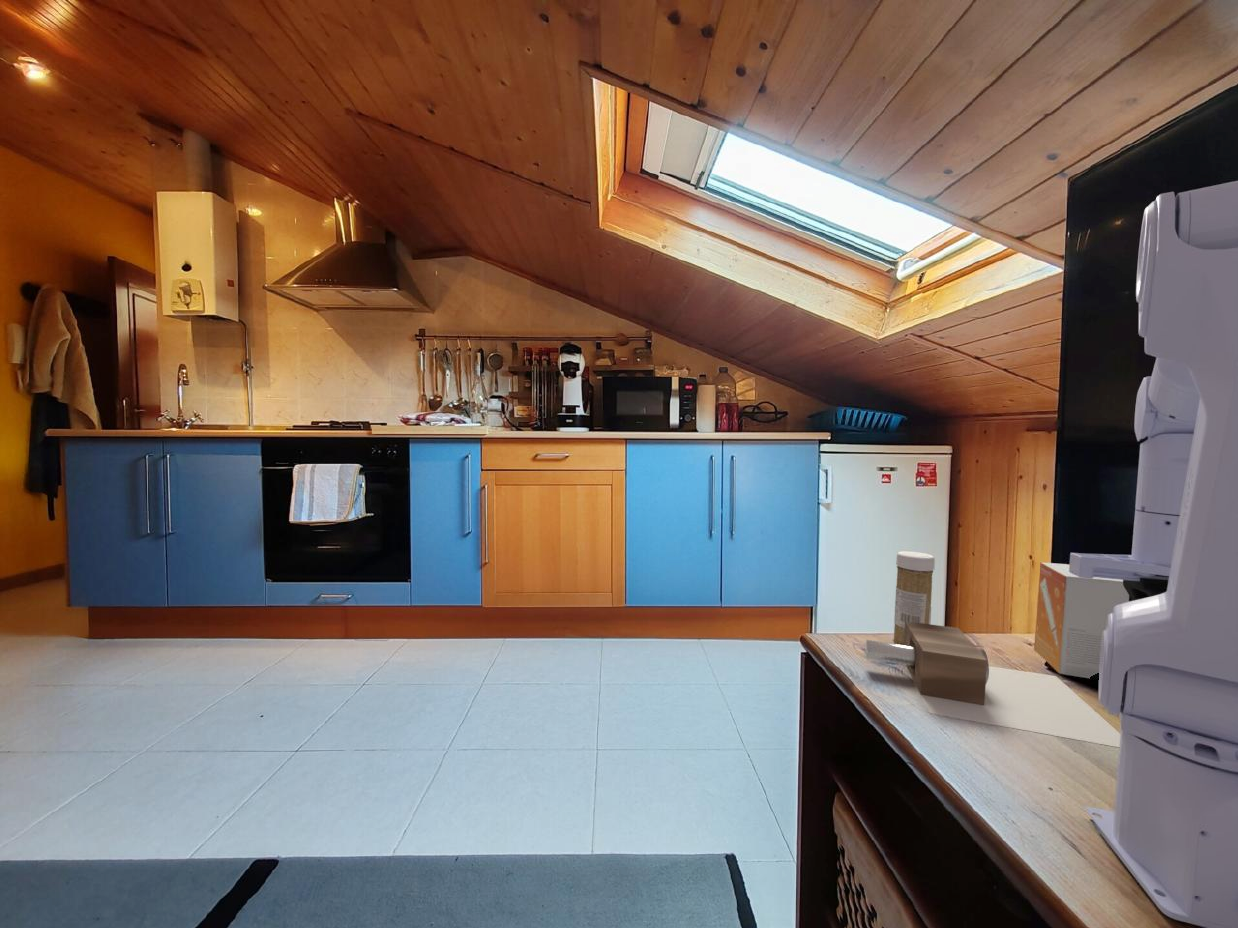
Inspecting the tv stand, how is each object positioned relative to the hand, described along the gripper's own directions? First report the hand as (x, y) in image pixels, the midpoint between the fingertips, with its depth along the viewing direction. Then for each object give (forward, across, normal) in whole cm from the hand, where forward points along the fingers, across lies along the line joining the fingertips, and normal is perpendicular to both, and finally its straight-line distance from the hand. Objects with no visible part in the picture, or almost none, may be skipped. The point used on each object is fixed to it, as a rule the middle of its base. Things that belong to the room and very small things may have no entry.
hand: (1168, 664), depth 45 cm
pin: (+8, +17, -10) cm, 21 cm away
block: (+9, +15, -10) cm, 20 cm away
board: (+9, +10, -9) cm, 16 cm away
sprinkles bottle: (+10, +16, -21) cm, 28 cm away
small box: (+10, -3, -22) cm, 24 cm away
